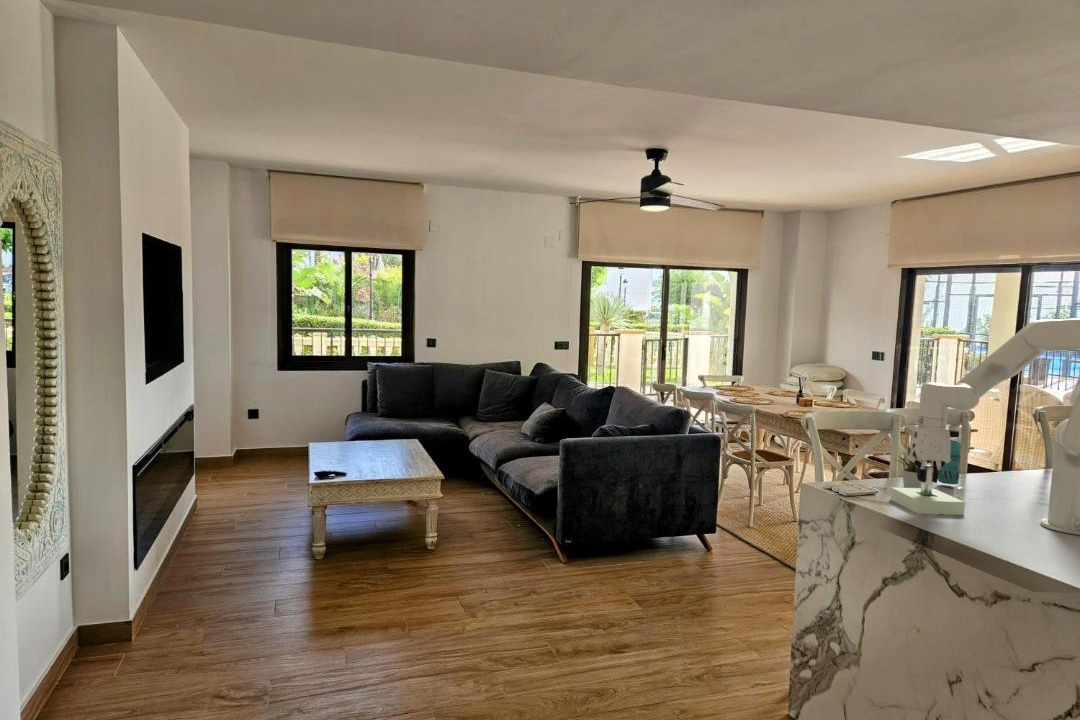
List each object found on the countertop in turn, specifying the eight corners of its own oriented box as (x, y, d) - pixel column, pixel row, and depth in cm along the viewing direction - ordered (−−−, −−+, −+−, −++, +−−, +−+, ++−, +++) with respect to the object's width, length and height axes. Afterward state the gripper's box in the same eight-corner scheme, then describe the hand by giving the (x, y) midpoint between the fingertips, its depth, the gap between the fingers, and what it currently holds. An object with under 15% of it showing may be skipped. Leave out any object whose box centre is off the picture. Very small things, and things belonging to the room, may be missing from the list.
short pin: (965, 504, 210) (967, 489, 210) (956, 504, 210) (957, 488, 210) (959, 501, 213) (960, 486, 213) (950, 501, 213) (951, 486, 213)
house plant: (950, 493, 223) (954, 445, 222) (921, 496, 218) (924, 447, 217) (912, 482, 237) (916, 437, 235) (884, 485, 231) (887, 439, 230)
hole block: (963, 515, 198) (964, 502, 198) (917, 513, 198) (918, 500, 197) (933, 500, 213) (934, 488, 213) (890, 499, 213) (891, 487, 212)
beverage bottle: (932, 484, 235) (936, 428, 233) (946, 483, 237) (951, 428, 235) (948, 489, 228) (953, 432, 227) (963, 488, 230) (968, 431, 229)
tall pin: (933, 498, 204) (936, 466, 203) (923, 498, 204) (926, 466, 203) (927, 496, 207) (930, 464, 206) (918, 495, 207) (920, 464, 206)
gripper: (912, 423, 200) (907, 483, 201) (966, 425, 200) (961, 485, 201) (899, 419, 207) (894, 477, 208) (950, 421, 207) (945, 479, 209)
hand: (927, 480), depth 205 cm, fingers closed on tall pin, 3 cm apart
